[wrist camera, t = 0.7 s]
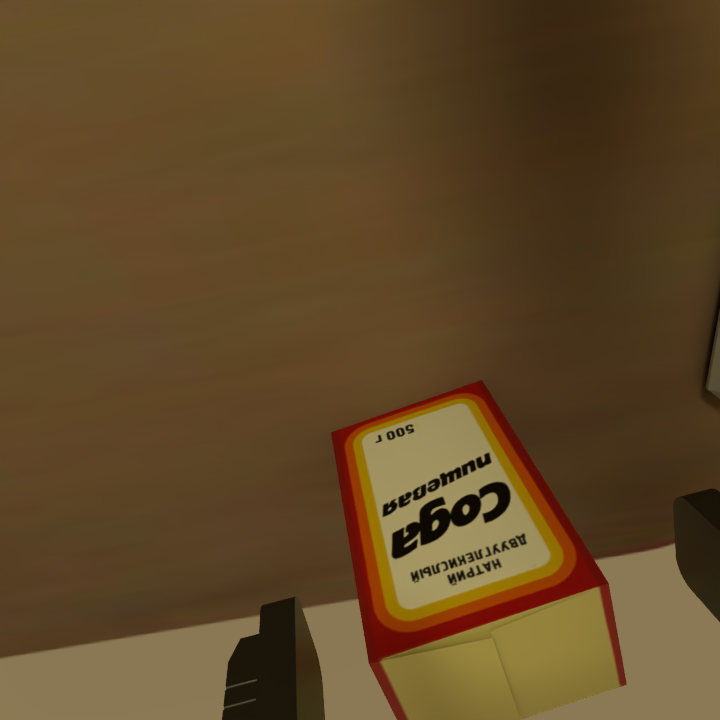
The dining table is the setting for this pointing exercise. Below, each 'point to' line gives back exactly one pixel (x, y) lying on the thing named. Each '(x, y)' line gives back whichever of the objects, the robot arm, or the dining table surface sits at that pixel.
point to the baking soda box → (469, 567)
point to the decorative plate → (715, 365)
